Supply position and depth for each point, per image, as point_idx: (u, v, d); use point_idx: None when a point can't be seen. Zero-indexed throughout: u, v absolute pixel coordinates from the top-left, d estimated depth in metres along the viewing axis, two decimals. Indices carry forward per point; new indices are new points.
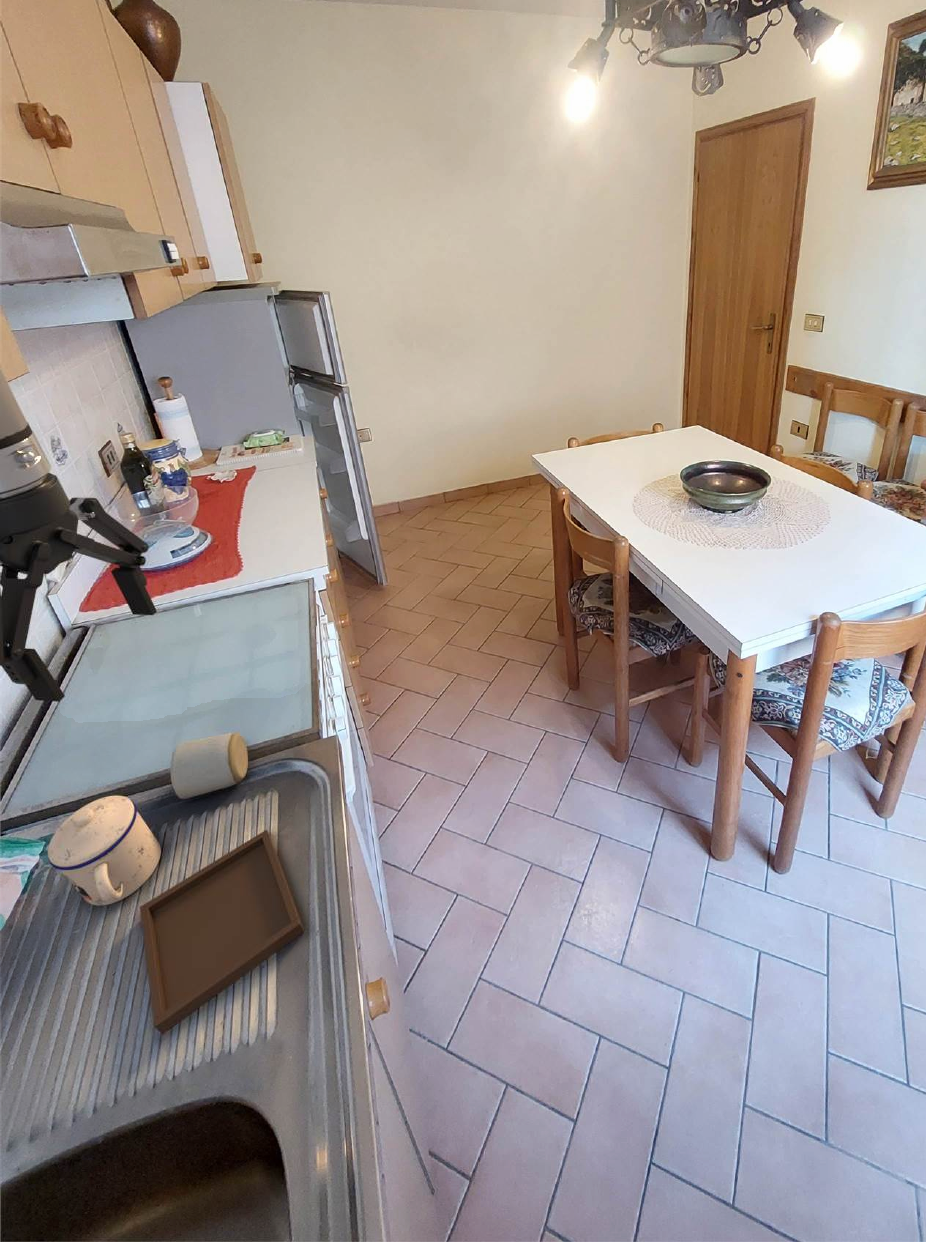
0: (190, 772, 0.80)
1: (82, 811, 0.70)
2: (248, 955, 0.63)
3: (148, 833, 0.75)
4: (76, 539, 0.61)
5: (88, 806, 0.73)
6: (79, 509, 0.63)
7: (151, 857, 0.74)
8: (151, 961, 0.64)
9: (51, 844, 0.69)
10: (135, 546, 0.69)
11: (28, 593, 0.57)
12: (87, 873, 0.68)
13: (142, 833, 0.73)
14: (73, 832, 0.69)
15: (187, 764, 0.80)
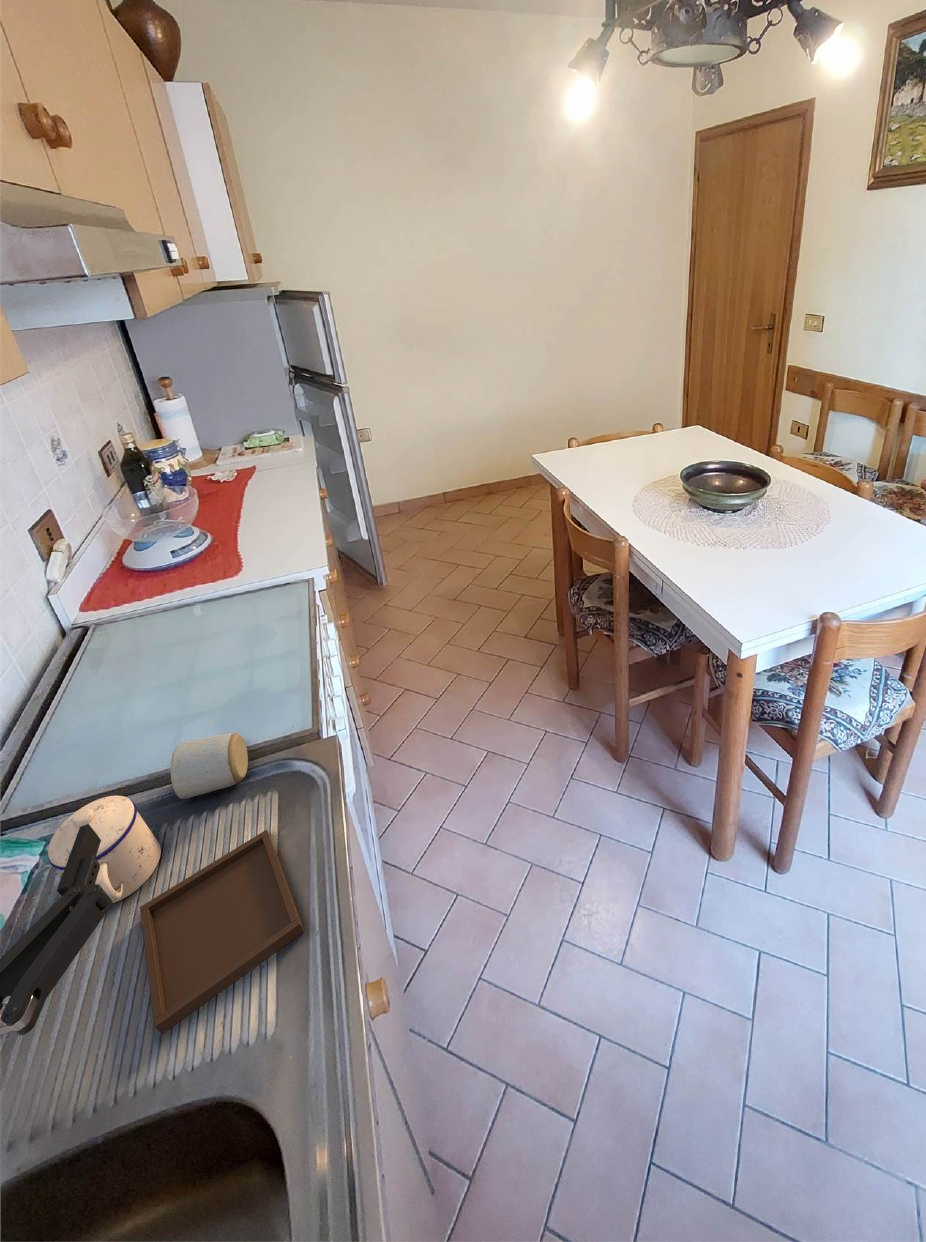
0: (190, 772, 0.80)
1: (82, 811, 0.70)
2: (248, 955, 0.63)
3: (148, 833, 0.75)
4: None
5: (88, 806, 0.73)
6: None
7: (151, 857, 0.74)
8: (151, 961, 0.64)
9: (51, 844, 0.69)
10: None
11: None
12: None
13: (142, 833, 0.73)
14: (73, 832, 0.69)
15: (187, 764, 0.80)
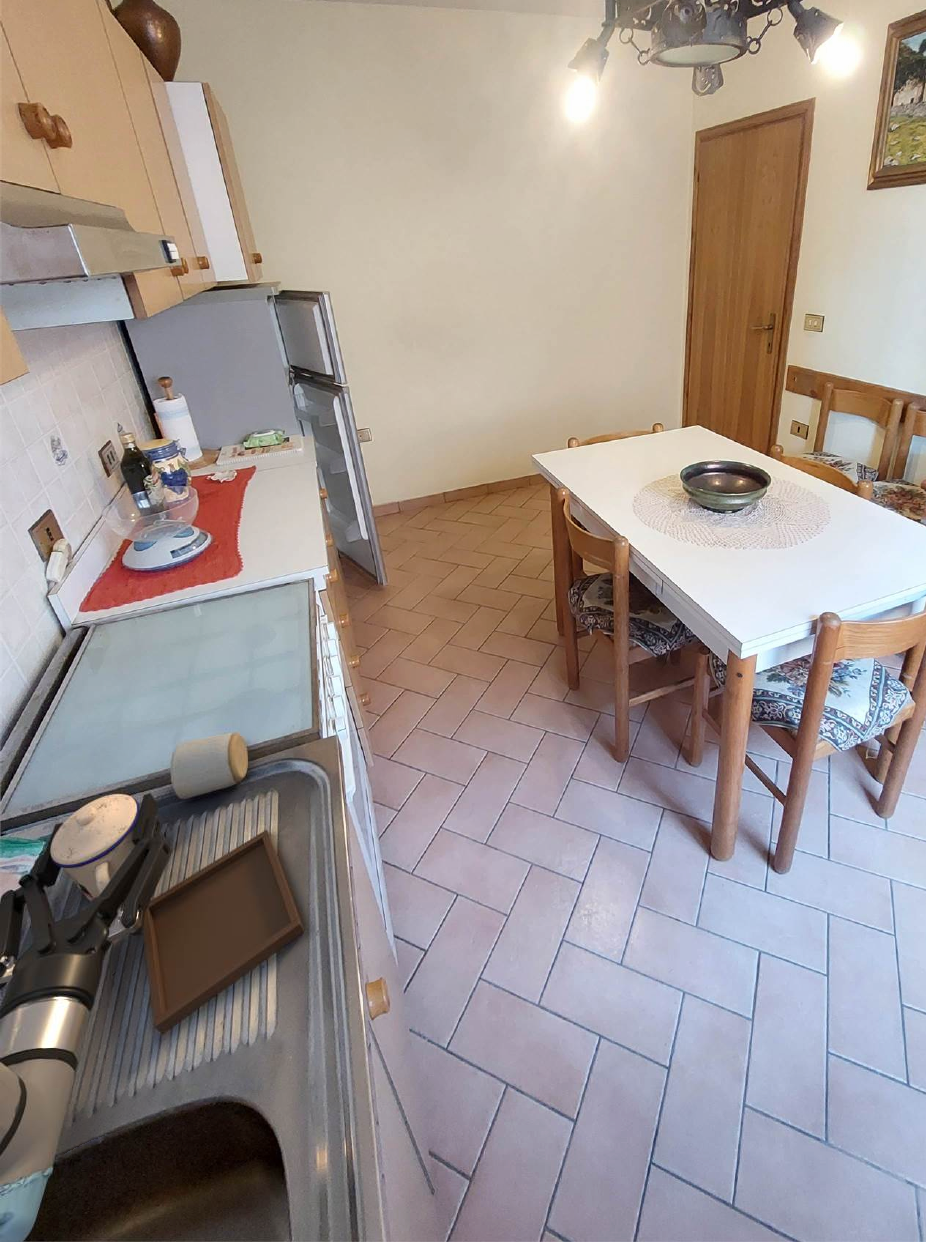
0: (190, 772, 0.80)
1: (85, 809, 0.70)
2: (248, 955, 0.63)
3: None
4: None
5: (92, 804, 0.73)
6: None
7: None
8: (151, 961, 0.64)
9: (54, 841, 0.69)
10: None
11: None
12: (89, 871, 0.68)
13: None
14: (75, 830, 0.69)
15: (187, 764, 0.80)
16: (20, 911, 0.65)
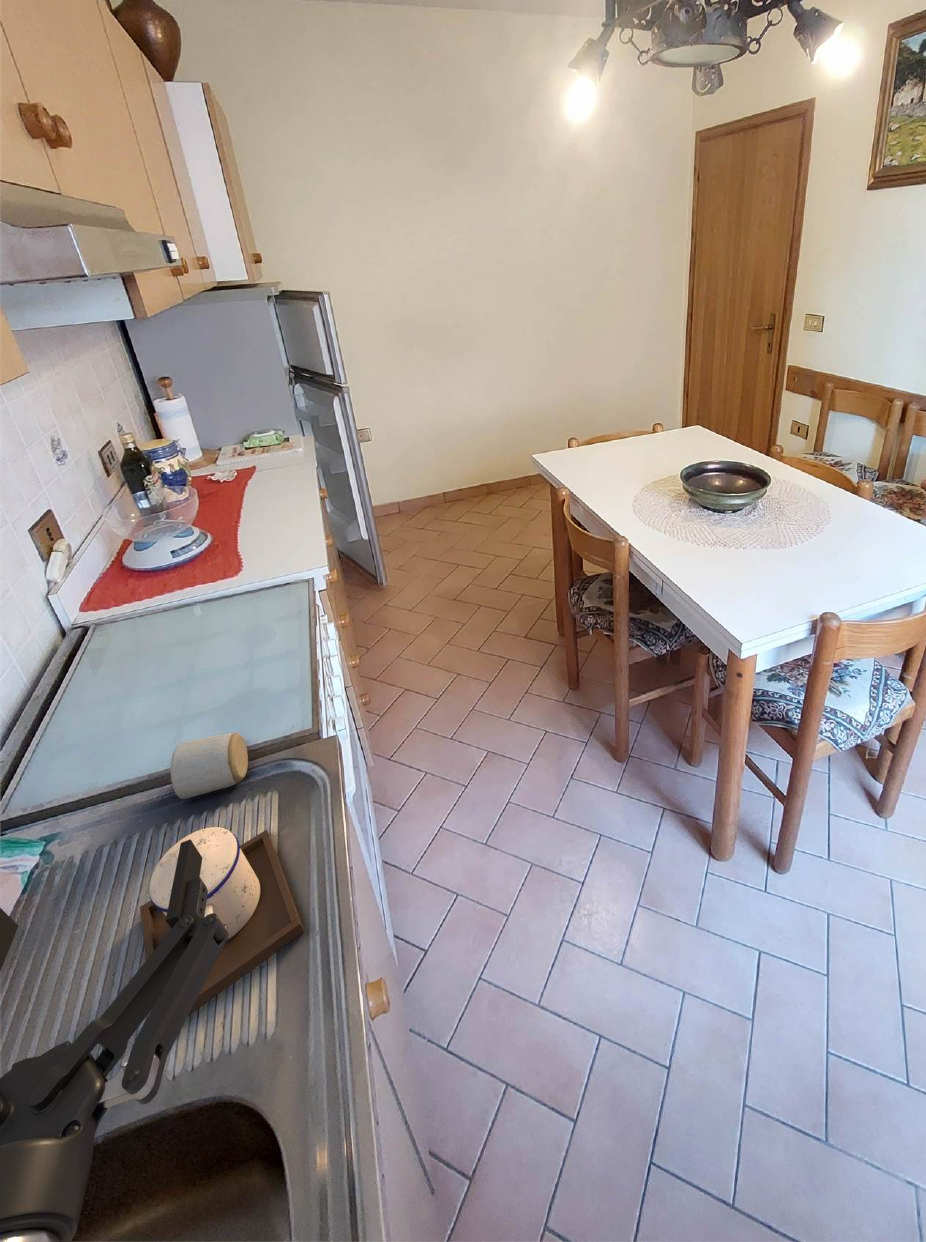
0: (190, 772, 0.80)
1: None
2: (248, 955, 0.63)
3: (249, 869, 0.69)
4: None
5: (188, 839, 0.67)
6: None
7: (253, 895, 0.68)
8: None
9: (152, 881, 0.63)
10: None
11: None
12: None
13: (245, 870, 0.67)
14: None
15: (187, 764, 0.80)
16: None
